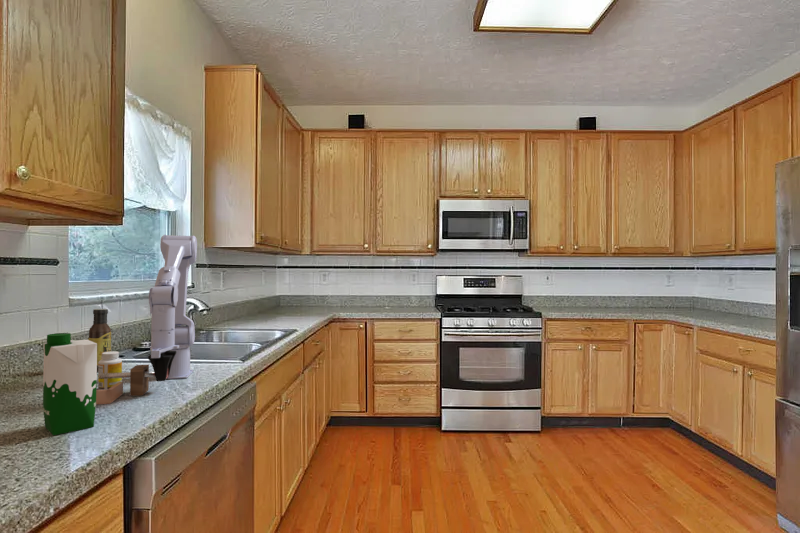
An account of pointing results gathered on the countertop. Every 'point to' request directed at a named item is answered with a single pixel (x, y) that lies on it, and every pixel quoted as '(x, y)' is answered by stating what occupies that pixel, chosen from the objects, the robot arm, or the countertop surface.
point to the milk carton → (69, 383)
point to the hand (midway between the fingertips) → (162, 379)
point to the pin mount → (139, 380)
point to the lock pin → (125, 375)
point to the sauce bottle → (100, 333)
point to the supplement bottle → (109, 369)
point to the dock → (109, 394)
